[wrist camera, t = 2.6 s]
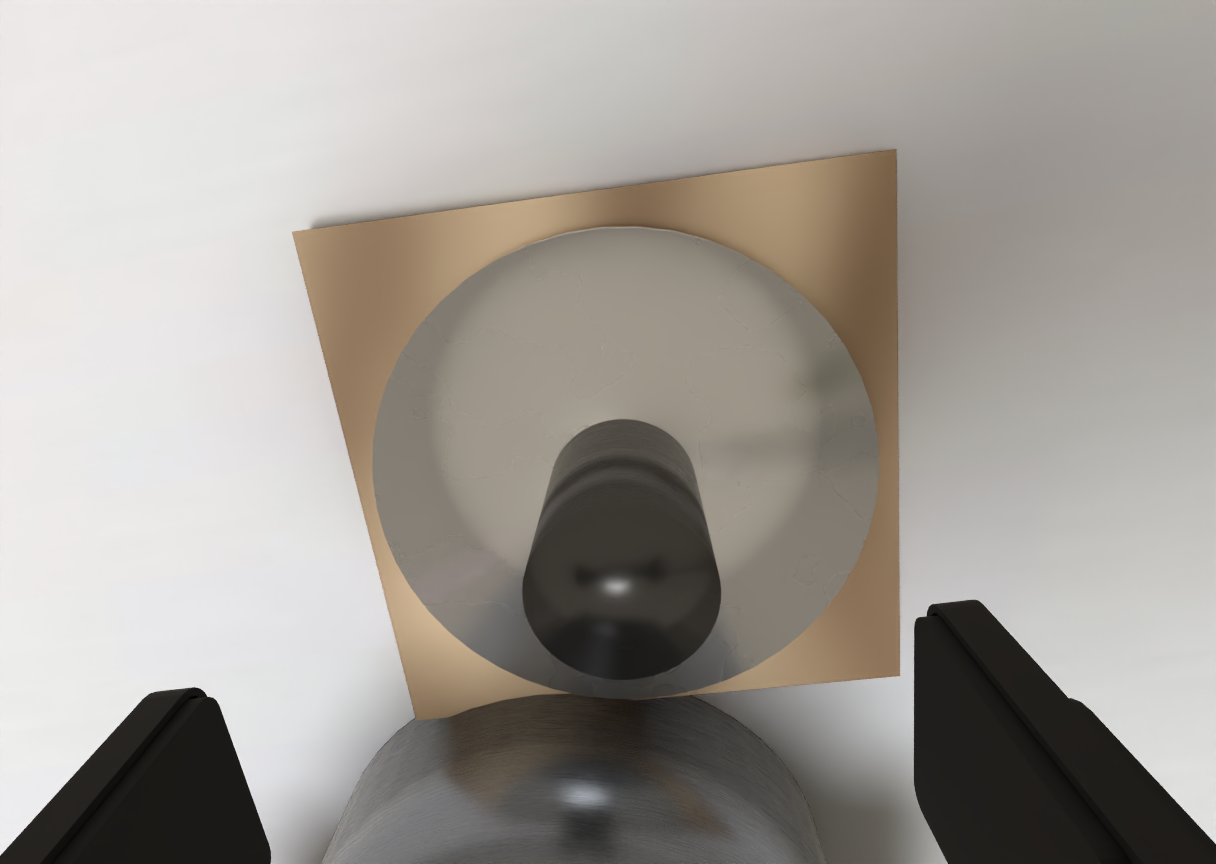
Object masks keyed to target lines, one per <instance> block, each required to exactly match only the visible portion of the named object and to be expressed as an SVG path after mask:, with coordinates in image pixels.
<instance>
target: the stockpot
mask: <svg viewBox="0 0 1216 864" xmlns="http://www.w3.org/2000/svg"><path fill="white" fill-rule="evenodd" d="M321 864H827V863H826V860H825V857H824V853H823V850H822V847H821V843H820V840H819V837H818V833H817V830H816V827H815V824H814V821H813V817H812V814H811V811H810V808H809V805H808V803H807V801H806V799H805V797H804V795H803V793H802V792H801V790H800V788H799V786H798V784H797V782H796V781H795V779H794V778H793V776H792V775H791V774H790V772H789V771H788V769H787V768H786V767H785V765H784V764H783V763H782V761H781V760H780V759H779V758H778V757H777V756H776V755H775V754H774V753H773V752H772V751H771V750H770V748H769V747H768V746H767V745H766V744H765V743H764V742H763V741H762V740H761V739H760V738H758V737H757V736H756V735H755V734H753V733H752V732H751V731H749V730H748V729H747V728H746V727H744V726H743V725H742V724H740V723H739V722H738V721H737V720H735V719H733V718H732V717H730V716H728V715H727V714H725V713H723V712H722V711H720V710H718V709H717V708H715V707H713V706H711V705H710V704H708V703H706V702H703V701H701V700H699V699H697V698H694V697H692V696H690V695H687V696H676V697H665V698H654V699H643V700H630V699H609V698H600V697H590V696H582V695H577V694H573V693H569V694H543V695H533V696H526V697H520V698H513V699H506V700H501V701H498V702H494V703H490V704H487V705H483V706H479V707H475V708H472V709H469V710H466V711H464V712H461V713H459V714H456V715H454V716H451V717H448V718H437V719H426V720H416V718H415V719H414V720H412V721H411V722H410V723H408V724H407V725H406V726H404V727H403V728H402V729H401V730H399V731H398V732H397V733H396V734H395V735H394V736H393V737H392V738H391V739H390V740H389V741H388V742H387V743H386V744H385V745H384V746H383V747H382V748H381V749H380V750H379V751H378V752H377V754H376V755H375V757H374V758H373V760H372V761H371V762H370V764H369V765H368V767H367V768H366V769H365V771H364V772H363V774H362V776H361V778H360V780H359V782H358V784H357V786H356V788H355V790H354V792H353V794H352V796H351V798H350V801H349V803H348V805H347V807H346V809H345V812H344V814H343V816H342V818H341V820H340V823H339V825H338V827H337V829H336V831H335V834H334V836H333V838H332V840H331V842H330V845H329V847H328V849H327V851H326V853H325V856H324V858H323V860H322V862H321Z"/></svg>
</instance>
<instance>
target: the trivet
mask: <svg viewBox="0 0 1216 864" xmlns="http://www.w3.org/2000/svg"><path fill="white" fill-rule="evenodd" d="M601 226H645V227H654V228H663V229H672V230H675V231H679V232H683V233H687V234H691V235H695V236H699V237H703V238H706V239H709V240H711V241H714V242H716V243H718V244H721V245H723V246H726V247H728V248H731V249H733V250H736V251H738V252H740V253H741V254H743V255H745V256H747V257H748V258H750V259H752V260H754V261H755V262H757V263H759V264H760V265H762V266H764V267H766V268H767V269H769V270H771V271H772V272H774V273H776V274H777V275H778V276H779V277H781V278H782V279H783V280H784V281H786V282H787V283H788V284H790V285H791V286H792V287H793V288H795V289H796V290H797V291H798V292H800V293H801V294H802V295H803V296H804V297H805V298H806V299H807V300H808V301H809V302H810V303H811V304H812V305H813V306H814V307H815V308H816V309H817V310H818V311H819V312H820V313H821V315H822V316H823V317H824V318H825V319H826V320H827V321H828V323H829V324H830V325H831V327H832V328H833V330H834V331H835V332H836V334H837V335H838V337H839V338H840V339H841V341H842V342H843V344H844V345H845V346H846V348H847V350H848V352H849V354H850V356H851V358H852V360H853V362H854V363H855V365H856V367H857V369H858V371H859V373H860V375H861V377H862V380H863V383H864V386H865V389H866V392H867V395H868V398H869V400H870V403H871V406H872V410H873V416H874V421H875V426H876V432H877V437H878V453H879V478H878V488H877V498H876V504H875V508H874V512H873V516H872V520H871V524H870V529H869V532H868V535H867V537H866V540H865V542H864V545H863V547H862V550H861V552H860V555H859V557H858V560H857V562H856V563H855V565H854V567H853V569H852V571H851V572H850V574H849V576H848V578H847V579H846V581H845V583H844V585H843V586H842V588H841V589H840V590H839V592H838V593H837V594H836V596H835V597H834V598H833V600H832V601H831V602H830V604H829V605H828V606H827V608H826V609H825V610H824V611H823V613H822V614H821V615H820V616H819V617H818V618H817V619H816V620H815V621H814V622H813V623H812V624H811V625H810V626H809V627H808V628H807V629H806V630H805V631H804V632H803V633H802V634H801V635H799V636H798V637H797V638H796V639H794V640H793V641H792V642H791V643H789V644H788V645H787V646H786V647H784V648H783V649H782V650H781V651H779V652H778V653H776V654H774V655H773V656H771V657H770V658H768V659H766V660H765V661H763V662H762V663H760V664H759V665H757V666H755V667H753V668H751V669H749V670H747V671H745V672H743V673H741V674H739V675H736V676H734V677H732V678H730V679H728V680H725V681H722V682H719V683H716V684H713V685H711V686H708V687H705V688H702V689H698V690H694V691H689V692H685V693H680V694H676V695H671V696H663V697H654V698H665V697H676V696H687V695H698V694H708V693H719V692H730V691H741V690H752V689H763V688H774V687H784V686H795V685H806V684H817V683H828V682H839V681H850V680H860V679H871V678H882V677H893V676H900V616H899V463H898V311H897V158H896V149H894V150H887V151H879V152H872V153H865V154H857V155H850V156H843V157H835V158H828V159H821V160H813V161H806V162H799V163H792V164H784V165H777V166H770V167H762V168H755V169H748V170H740V171H733V172H726V173H718V174H711V175H704V176H697V177H689V178H682V179H675V180H667V181H660V182H653V183H645V184H638V185H631V186H624V187H616V188H609V189H602V190H594V191H587V192H580V193H572V194H565V195H558V196H550V197H543V198H536V199H529V200H521V201H514V202H507V203H499V204H492V205H485V206H477V207H470V208H463V209H455V210H448V211H441V212H434V213H426V214H419V215H412V216H404V217H397V218H390V219H382V220H375V221H368V222H360V223H353V224H346V225H339V226H331V227H324V228H317V229H309V230H302V231H295V232H292V234H293V238H294V242H295V246H296V250H297V254H298V258H299V261H300V265H301V269H302V273H303V277H304V281H305V285H306V289H307V293H308V297H309V301H310V305H311V309H312V312H313V316H314V320H315V324H316V328H317V332H318V336H319V340H320V344H321V348H322V352H323V356H324V360H325V363H326V367H327V371H328V375H329V379H330V383H331V387H332V391H333V395H334V399H335V403H336V407H337V411H338V414H339V418H340V422H341V426H342V430H343V434H344V438H345V442H346V446H347V450H348V454H349V458H350V462H351V466H352V469H353V473H354V477H355V481H356V485H357V489H358V493H359V497H360V501H361V505H362V509H363V513H364V517H365V520H366V524H367V528H368V532H369V536H370V540H371V544H372V548H373V552H374V556H375V560H376V564H377V568H378V571H379V575H380V579H381V583H382V587H383V591H384V595H385V599H386V603H387V607H388V611H389V615H390V619H391V622H392V626H393V630H394V634H395V638H396V642H397V646H398V650H399V654H400V658H401V662H402V666H403V670H404V673H405V677H406V681H407V685H408V689H409V693H410V697H411V701H412V705H413V709H414V713H415V717H416V720H426V719H437V718H448V717H451V716H454V715H456V714H459V713H461V712H464V711H466V710H469V709H472V708H475V707H479V706H483V705H487V704H490V703H494V702H498V701H501V700H506V699H513V698H520V697H526V696H533V695H543V694H569V693H568V692H564V691H559V690H555V689H551V688H548V687H545V686H542V685H540V684H537V683H534V682H531V681H528V680H525V679H523V678H521V677H519V676H516V675H514V674H512V673H510V672H508V671H506V670H504V669H502V668H500V667H498V666H496V665H494V664H493V663H491V662H490V661H488V660H486V659H485V658H483V657H481V656H480V655H478V654H477V653H475V652H473V651H472V650H471V649H470V648H468V647H467V646H466V645H465V644H463V643H462V642H461V641H460V640H458V639H457V638H456V637H454V636H453V635H452V634H451V633H450V632H449V631H448V630H447V629H446V628H445V627H444V626H443V625H442V624H441V623H440V622H439V621H438V620H437V619H436V618H435V617H434V616H433V615H432V614H431V613H430V612H429V611H428V610H427V608H426V607H425V606H424V605H423V603H422V602H421V601H420V599H419V598H418V597H417V595H416V594H415V593H414V592H413V590H412V589H411V587H410V586H409V584H408V582H407V581H406V579H405V577H404V576H403V574H402V572H401V570H400V569H399V567H398V565H397V564H396V562H395V559H394V557H393V554H392V552H391V550H390V547H389V545H388V543H387V540H386V538H385V536H384V532H383V529H382V525H381V521H380V518H379V514H378V510H377V507H376V500H375V492H374V484H373V477H372V462H373V440H374V433H375V426H376V420H377V414H378V410H379V407H380V404H381V400H382V397H383V394H384V390H385V387H386V384H387V382H388V379H389V377H390V375H391V373H392V371H393V369H394V367H395V364H396V362H397V360H398V358H399V356H400V354H401V352H402V351H403V349H404V348H405V346H406V345H407V343H408V342H409V340H410V339H411V337H412V335H413V334H414V332H415V331H416V329H417V328H418V326H419V325H420V324H421V323H422V322H423V321H424V320H425V318H426V317H427V316H428V315H429V314H430V313H431V312H432V310H433V309H434V308H435V307H436V306H437V305H438V304H439V302H440V301H441V300H443V299H444V298H445V297H446V296H447V295H448V294H450V293H451V292H452V291H453V290H454V289H455V288H457V287H458V286H459V285H460V284H461V283H462V282H464V281H465V280H466V279H467V278H469V277H470V276H472V275H473V274H475V273H477V272H478V271H480V270H481V269H483V268H484V267H486V266H487V265H489V264H491V263H492V262H494V261H495V260H497V259H499V258H501V257H503V256H505V255H507V254H509V253H511V252H513V251H516V250H518V249H520V248H522V247H524V246H526V245H529V244H531V243H533V242H535V241H539V240H542V239H545V238H549V237H552V236H555V235H559V234H562V233H565V232H569V231H575V230H582V229H588V228H594V227H601ZM654 698H644V699H654ZM630 700H643V699H630Z"/></svg>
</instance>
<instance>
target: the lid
mask: <svg viewBox="0 0 1216 864" xmlns="http://www.w3.org/2000/svg"><path fill="white" fill-rule="evenodd" d="M372 477H373V484H374V492H375V500H376V507H377V510H378V514H379V518H380V521H381V525H382V529H383V532H384V536H385V538H386V540H387V543H388V545H389V547H390V550H391V552H392V554H393V557H394V559H395V562H396V564H397V565H398V567H399V569H400V570H401V572H402V574H403V576H404V577H405V579H406V581H407V582H408V584H409V586H410V587H411V589H412V590H413V592H414V593H415V594H416V595H417V597H418V598H419V599H420V601H421V602H422V603H423V605H424V606H425V607H426V608H427V610H428V611H429V612H430V613H431V614H432V615H433V616H434V617H435V618H436V619H437V620H438V621H439V622H440V623H441V624H442V625H443V626H444V627H445V628H446V629H447V630H448V631H449V632H450V633H451V634H452V635H453V636H454V637H456V638H457V639H458V640H460V641H461V642H462V643H463V644H465V645H466V646H467V647H468V648H470V649H471V650H472V651H473V652H475V653H477V654H478V655H480V656H481V657H483V658H485V659H486V660H488V661H490V662H491V663H493V664H494V665H496V666H498V667H500V668H502V669H504V670H506V671H508V672H510V673H512V674H514V675H516V676H519V677H521V678H523V679H525V680H528V681H531V682H534V683H537V684H540V685H542V686H545V687H548V688H551V689H555V690H559V691H564V692H568V693H573V694H577V695H582V696H590V697H600V698H609V699H644V698H654V697H663V696H671V695H676V694H680V693H685V692H689V691H694V690H698V689H702V688H705V687H708V686H711V685H713V684H716V683H719V682H722V681H725V680H728V679H730V678H732V677H734V676H736V675H739V674H741V673H743V672H745V671H747V670H749V669H751V668H753V667H755V666H757V665H759V664H760V663H762V662H763V661H765V660H766V659H768V658H770V657H771V656H773V655H774V654H776V653H778V652H779V651H781V650H782V649H783V648H784V647H786V646H787V645H788V644H789V643H791V642H792V641H793V640H794V639H796V638H797V637H798V636H799V635H801V634H802V633H803V632H804V631H805V630H806V629H807V628H808V627H809V626H810V625H811V624H812V623H813V622H814V621H815V620H816V619H817V618H818V617H819V616H820V615H821V614H822V613H823V611H824V610H825V609H826V608H827V606H828V605H829V604H830V602H831V601H832V600H833V598H834V597H835V596H836V594H837V593H838V592H839V590H840V589H841V588H842V586H843V585H844V583H845V581H846V579H847V578H848V576H849V574H850V572H851V571H852V569H853V567H854V565H855V563H856V562H857V560H858V557H859V555H860V552H861V550H862V547H863V545H864V542H865V540H866V537H867V535H868V532H869V529H870V524H871V520H872V516H873V512H874V508H875V504H876V498H877V488H878V478H879V453H878V437H877V432H876V426H875V421H874V416H873V410H872V406H871V403H870V400H869V398H868V395H867V392H866V389H865V386H864V383H863V380H862V377H861V375H860V373H859V371H858V369H857V367H856V365H855V363H854V362H853V360H852V358H851V356H850V354H849V352H848V350H847V348H846V346H845V345H844V344H843V342H842V341H841V339H840V338H839V337H838V335H837V334H836V332H835V331H834V330H833V328H832V327H831V325H830V324H829V323H828V321H827V320H826V319H825V318H824V317H823V316H822V315H821V313H820V312H819V311H818V310H817V309H816V308H815V307H814V306H813V305H812V304H811V303H810V302H809V301H808V300H807V299H806V298H805V297H804V296H803V295H802V294H801V293H800V292H798V291H797V290H796V289H795V288H793V287H792V286H791V285H790V284H788V283H787V282H786V281H784V280H783V279H782V278H781V277H779V276H778V275H777V274H776V273H774V272H772V271H771V270H769V269H767V268H766V267H764V266H762V265H760V264H759V263H757V262H755V261H754V260H752V259H750V258H748V257H747V256H745V255H743V254H741V253H740V252H738V251H736V250H733V249H731V248H728V247H726V246H723V245H721V244H718V243H716V242H714V241H711V240H709V239H706V238H703V237H699V236H695V235H691V234H687V233H683V232H679V231H675V230H672V229H663V228H654V227H645V226H601V227H594V228H588V229H582V230H575V231H569V232H565V233H562V234H559V235H555V236H552V237H549V238H545V239H542V240H539V241H535V242H533V243H531V244H529V245H526V246H524V247H522V248H520V249H518V250H516V251H513V252H511V253H509V254H507V255H505V256H503V257H501V258H499V259H497V260H495V261H494V262H492V263H491V264H489V265H487V266H486V267H484V268H483V269H481V270H480V271H478V272H477V273H475V274H473V275H472V276H470V277H469V278H467V279H466V280H465V281H464V282H462V283H461V284H460V285H459V286H458V287H457V288H455V289H454V290H453V291H452V292H451V293H450V294H448V295H447V296H446V297H445V298H444V299H443V300H441V301H440V302H439V304H438V305H437V306H436V307H435V308H434V309H433V310H432V312H431V313H430V314H429V315H428V316H427V317H426V318H425V320H424V321H423V322H422V323H421V324H420V325H419V326H418V328H417V329H416V331H415V332H414V334H413V335H412V337H411V339H410V340H409V342H408V343H407V345H406V346H405V348H404V349H403V351H402V352H401V354H400V356H399V358H398V360H397V362H396V364H395V367H394V369H393V371H392V373H391V375H390V377H389V379H388V382H387V384H386V387H385V390H384V394H383V397H382V400H381V404H380V407H379V410H378V414H377V420H376V426H375V433H374V440H373V462H372Z"/></svg>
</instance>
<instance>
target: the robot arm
mask: <svg viewBox="0 0 1216 864" xmlns="http://www.w3.org/2000/svg"><path fill="white" fill-rule="evenodd" d="M914 786H915V792H916V796H917V800H918V803H919V806H920V809H921V811H922V813H923V815H924V817H925V819H926V821H927V823H928V825H929V827H930V829H931V831H932V833H933V835H934V837H935V839H936V841H937V843H938V845H939V847H940V849H941V851H942V853H943V855H944V857H945V859H946V861H947V862H948V864H1216V844H1215V843H1214V842H1213V841H1212V840H1211V839H1210V838H1209V836H1208V835H1207V834H1206V833H1205V832H1204V831H1203V830H1202V829H1201V828H1200V827H1199V826H1198V825H1197V824H1196V823H1195V821H1194V820H1193V819H1192V818H1191V817H1190V816H1189V815H1188V814H1187V813H1186V812H1185V811H1184V810H1183V809H1182V808H1181V806H1180V805H1179V804H1178V803H1177V802H1176V801H1175V800H1174V799H1173V798H1172V797H1171V796H1170V795H1169V794H1168V793H1167V791H1166V790H1165V789H1164V788H1163V787H1162V786H1161V785H1160V784H1159V783H1158V782H1157V781H1156V780H1155V779H1154V777H1153V776H1152V775H1151V774H1150V773H1149V772H1148V771H1147V770H1146V769H1145V768H1144V767H1143V766H1142V765H1141V764H1140V762H1139V761H1138V760H1137V759H1136V758H1135V757H1134V756H1133V755H1132V754H1131V753H1130V752H1129V751H1128V750H1127V749H1126V747H1125V746H1124V745H1123V744H1122V743H1121V742H1120V741H1119V740H1118V739H1117V738H1116V737H1115V736H1114V735H1113V734H1112V732H1111V731H1110V730H1109V729H1108V728H1107V727H1106V726H1105V725H1104V724H1103V723H1102V722H1101V721H1100V720H1099V719H1098V717H1097V716H1096V715H1095V714H1094V713H1093V712H1092V711H1091V710H1090V709H1089V708H1087V707H1086V706H1085V705H1084V704H1083V703H1082V702H1080V701H1077V700H1074V699H1072V698H1068V697H1067V696H1066V695H1065V694H1064V693H1063V692H1062V690H1061V689H1060V688H1059V687H1058V686H1057V685H1056V684H1055V683H1054V682H1053V681H1052V680H1051V678H1050V677H1049V676H1048V675H1047V674H1046V673H1045V672H1044V671H1043V670H1042V669H1041V667H1040V666H1039V665H1038V664H1037V663H1036V662H1035V661H1034V660H1033V659H1032V658H1031V656H1030V655H1029V654H1028V653H1027V652H1026V651H1025V650H1024V649H1023V648H1022V647H1021V645H1020V644H1019V643H1018V642H1017V641H1016V640H1015V639H1014V638H1013V637H1012V636H1011V634H1010V633H1009V632H1008V631H1007V630H1006V629H1005V628H1004V627H1003V626H1002V625H1001V624H1000V622H999V621H998V620H997V619H996V618H995V617H994V616H993V615H992V614H991V613H990V611H989V610H988V609H987V608H986V607H985V606H984V605H983V604H982V603H981V602H979V601H978V600H966V601H958V602H949V603H940V604H932V605H931V606H929V608H928V611H927V617H918V618H917V619H916V621H915V627H914ZM270 863H271V851H270V846H269V843H268V840H267V838H266V835H265V832H264V829H263V827H262V824H261V821H260V818H259V815H258V813H257V810H256V807H255V804H254V801H253V799H252V796H251V793H250V790H249V787H248V785H247V782H246V779H245V776H244V773H243V771H242V768H241V765H240V762H239V759H238V757H237V754H236V751H235V748H234V746H233V743H232V740H231V737H230V734H229V732H228V729H227V726H226V723H225V720H224V718H223V715H222V712H221V709H220V706H219V704H218V703H217V701H216V700H215V699H214V698H211V697H207V695H206V694H205V692H203V691H202V690H201V689H199V688H195V687H194V688H185V689H176V690H167V691H158V692H154V693H151V694H149V695H148V696H146V697H145V698H144V699H143V700H142V701H141V702H140V703H139V704H138V705H137V706H136V708H135V709H134V710H133V711H132V712H131V713H130V714H129V715H128V716H127V717H126V718H125V720H124V721H123V722H122V723H121V724H120V725H119V726H118V727H117V728H116V729H115V731H114V732H113V733H112V734H111V735H110V736H109V737H108V738H107V739H106V740H105V742H104V743H103V744H102V745H101V746H100V747H99V748H98V749H97V750H96V751H95V752H94V754H93V755H92V756H91V757H90V758H89V759H88V760H87V761H86V762H85V763H84V765H83V766H82V767H81V768H80V769H79V770H78V771H77V772H76V773H75V774H74V776H73V777H72V778H71V779H70V780H69V781H68V782H67V783H66V784H65V785H64V786H63V788H62V789H61V790H60V791H59V792H58V793H57V794H56V795H55V796H54V797H53V799H52V800H51V801H50V802H49V803H48V804H47V805H46V806H45V807H44V808H43V810H42V811H41V812H40V813H39V814H38V815H37V816H36V817H35V818H34V819H33V820H32V822H31V823H30V824H29V825H28V826H27V827H26V828H25V829H24V830H23V831H22V833H21V834H20V835H19V836H18V837H17V838H16V839H15V840H14V841H13V842H12V844H11V845H10V846H9V847H8V848H7V849H6V850H5V851H4V852H3V853H2V854H1V856H0V864H270Z"/></svg>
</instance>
